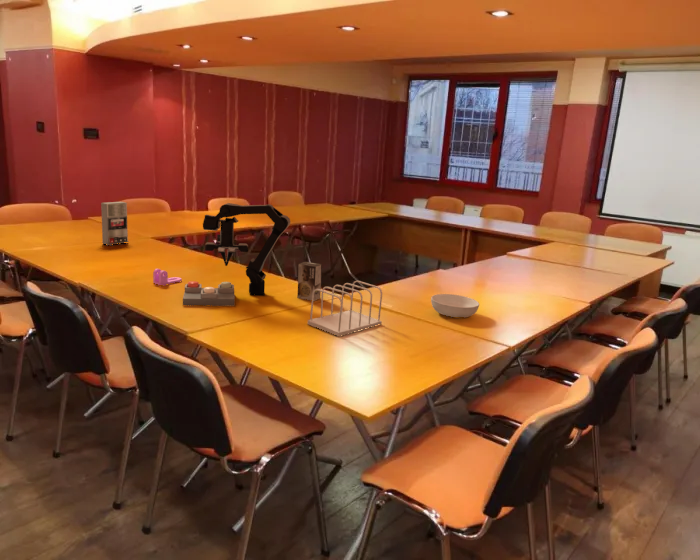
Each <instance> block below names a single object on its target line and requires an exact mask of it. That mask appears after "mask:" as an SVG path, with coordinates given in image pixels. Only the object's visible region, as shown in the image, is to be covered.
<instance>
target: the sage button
mask: <svg viewBox="0 0 700 560" xmlns="http://www.w3.org/2000/svg"><path fill="white" fill-rule="evenodd" d="M220 284H221V288H231V284H232V282H230V281H222V282H221V283H220Z"/></svg>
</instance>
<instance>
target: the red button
mask: <svg viewBox="0 0 700 560" xmlns="http://www.w3.org/2000/svg"><path fill="white" fill-rule="evenodd" d="M187 284H188V287H197V288H198V285H199V284H200V283H199V282H198V281H196V280H195V281H193V280H192V281H191V280H190V281H188V282H187Z"/></svg>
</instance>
